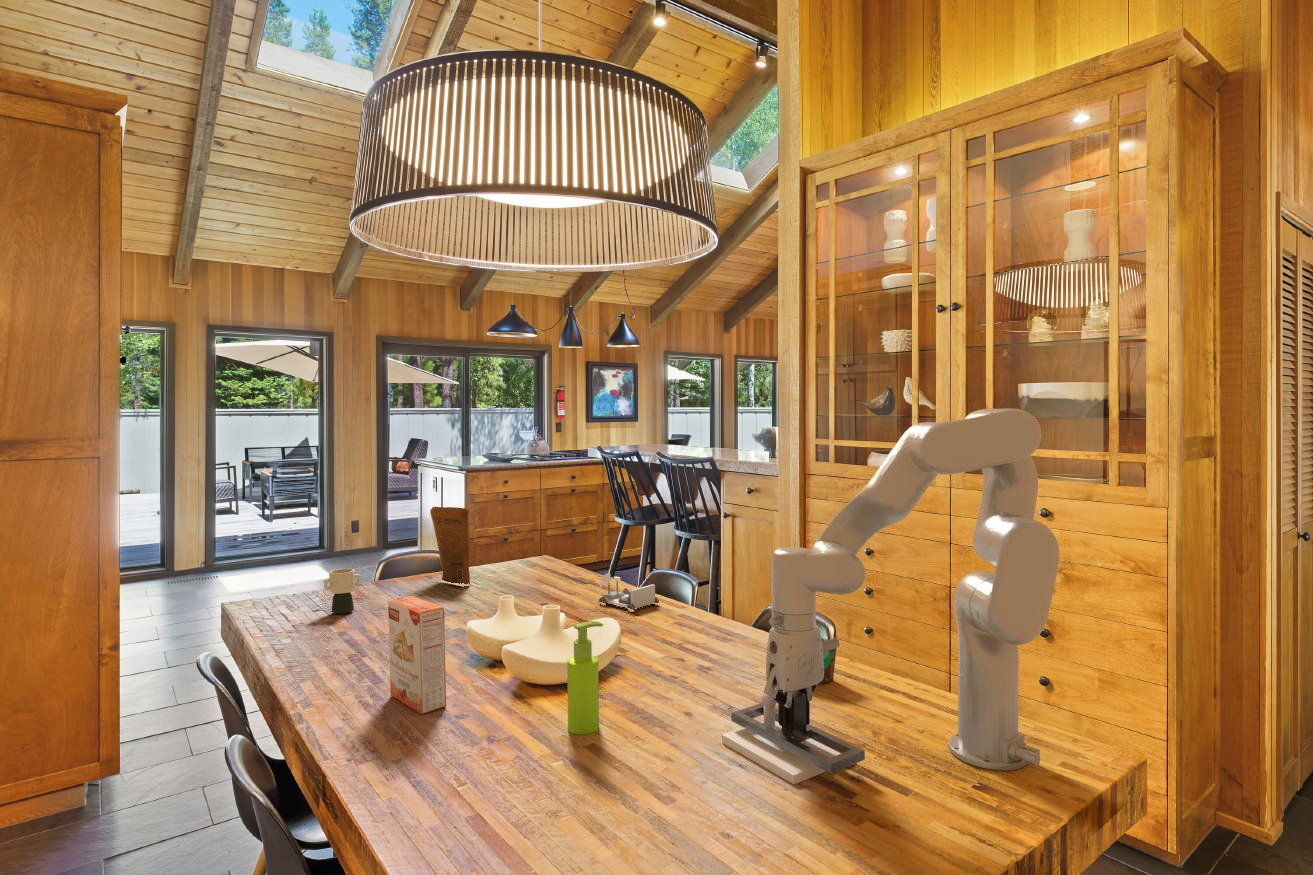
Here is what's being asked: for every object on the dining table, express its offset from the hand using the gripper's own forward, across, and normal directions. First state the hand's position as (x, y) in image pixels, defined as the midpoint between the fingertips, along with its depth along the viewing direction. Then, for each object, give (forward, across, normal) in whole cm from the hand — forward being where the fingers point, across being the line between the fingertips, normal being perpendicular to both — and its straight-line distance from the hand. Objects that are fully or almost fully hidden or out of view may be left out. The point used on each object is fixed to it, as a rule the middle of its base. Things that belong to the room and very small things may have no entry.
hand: (794, 723), depth 123 cm
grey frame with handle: (+3, 0, 0) cm, 3 cm away
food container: (+6, +28, +23) cm, 37 cm away
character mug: (+6, -46, +145) cm, 152 cm away
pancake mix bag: (+6, -6, +162) cm, 162 cm away
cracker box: (+6, -47, +62) cm, 78 cm away
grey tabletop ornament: (+6, +30, +103) cm, 107 cm away
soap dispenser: (+6, -24, +31) cm, 40 cm away
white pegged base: (+6, 0, +2) cm, 6 cm away
